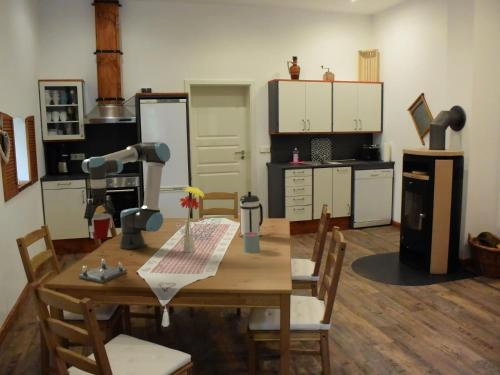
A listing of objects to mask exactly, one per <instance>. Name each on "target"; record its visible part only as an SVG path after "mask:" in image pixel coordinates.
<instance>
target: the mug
mask: <svg viewBox="0 0 500 375" xmlns="http://www.w3.org/2000/svg"><path fill="white" fill-rule="evenodd" d="M259 235H260V232H259V233H257V232H246V233H244V234H243V235H242V236H243V237H242V238H243V252H245V253H248V254H255V253H259V252H260V250H261V249H260V246H261V245H260V236H259Z"/></svg>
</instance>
